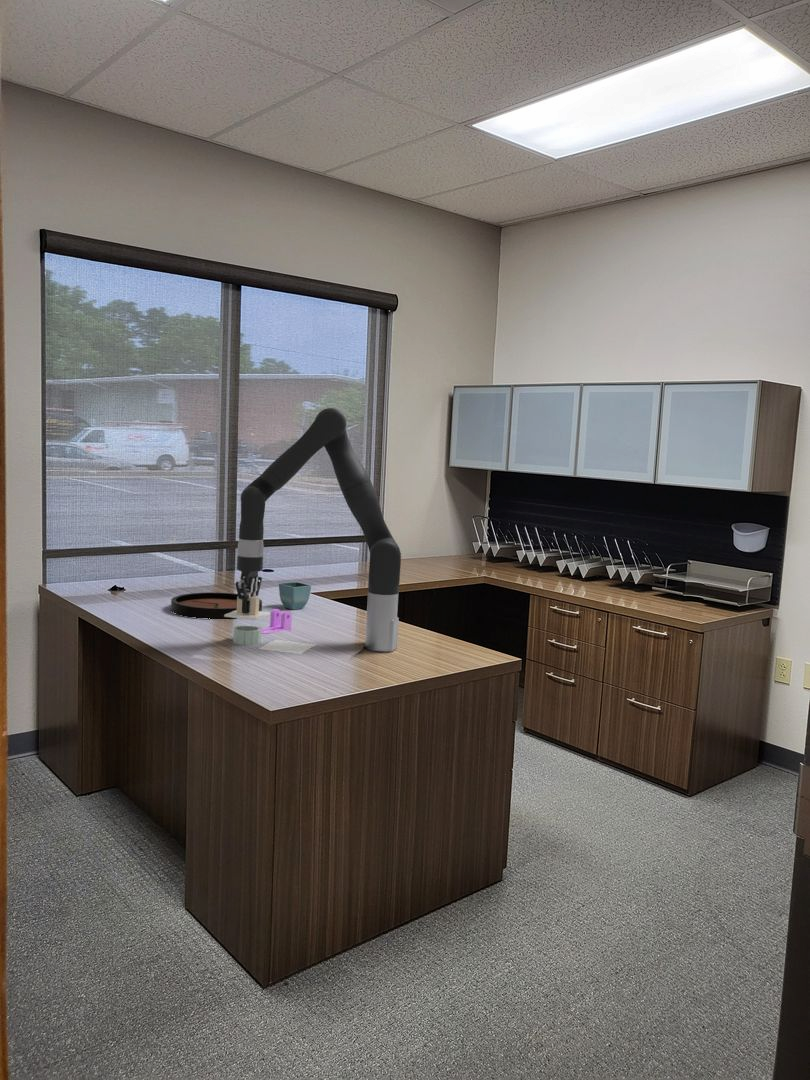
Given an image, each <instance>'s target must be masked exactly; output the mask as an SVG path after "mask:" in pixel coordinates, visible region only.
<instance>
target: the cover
mask: <svg viewBox="0 0 810 1080" xmlns="http://www.w3.org/2000/svg"><path fill="white" fill-rule="evenodd" d="M259 599H260V597H258V596H256V597H252V596H250V612H249V613H248V614H246V613H242V600H241V599H239V598H238V596H237V610H235V611H233V612H230V613H227V614H225V615H224V617H232V618H240V619H241V620H249V621H258V620H260V619H263V618H265V617H268V616H269V615H270V616H271V612H269V611H262V612H261V611H259ZM240 619H239V620H240Z"/></svg>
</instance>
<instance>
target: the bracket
mask: <svg viewBox="0 0 810 1080" xmlns="http://www.w3.org/2000/svg"><path fill="white" fill-rule="evenodd" d="M281 612H282V613H281ZM269 617H270V620H269V622H270V623H269V626H267V627H264V628H261V635H270V634H274V633H279V632H283V631H288V632H292V612H291V611H289V610H283V611H281V610H280V609H279V608H273V609H272V610H271V612H270V616H269Z"/></svg>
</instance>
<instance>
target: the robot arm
mask: <svg viewBox="0 0 810 1080" xmlns="http://www.w3.org/2000/svg"><path fill="white" fill-rule="evenodd" d="M346 428H347V420H346V417H345V415H344V413H343V412H342V411H341V410H340V409H338V408H335V407H334V408H333V407H327V408H324V409H321V411H320V412H318V413H317V415H316V416H315V419H314V421H313V422H312V423H311V425H310V427H308V429H307V430H306V431H304V433H303V435H302V436H301V437H300V438H299V439H297V440H296V441H295V442H294V443H293V444H292V445H291V446H290V447H289V448H287V449H286V450H285V451H284V452H283V453H282V454H280V455H279V456H278V457H277V458H276V459H275V460H274V461H273V462H272V463H271V464H269V466H268V467H267V468H265V470H263V472H262V473H261V474H260V475H259V476H258V477H257V478H256V479H254V480H252V482H251V483H249V484H248V485H247V486H246V487H245V488H244V489H243V490H242V492H241V493H240V523H239V528H238V529H239V530H238V531H239V532H238V535H239V536H238V544H237V551H236V553H237V554H236V555H237V556H236V560H237V561H236V569H237V570H238V571H239V572H241V574H240V578H239V579H240V580H239V581H235V589H236V592H237V593H236V594H238V598H239V599H241V600H242V613H246V614H248V613H249V612H250V596H252V597H258V596H259V594H260V593H259V592H260V590H261V589H260V588H261V585H262V582H263V578H262V577H261V576H259V572H262V571H263V567H264V546H265V545H264V530H265V528H264V527H265V526H264V519H265V511H266V509H265V508H266V502H267V500H268V499H269V498H271V496H273V495H274V494H275V492H278V491H279V490H280V489H282V488H283V487H285V485H286V484H287V483H288V482H289V481H290V480H291V479H292V478H293V477H294V476H295V475H296V474H297V473H298V472H299V471H300V470H301V469H302V468H303V467H304V466H305V465H306V463H307V462H308V461H309V460H310V459H311V458H312V457H313V456H315V454H316V453H318V452H319V451H320V450H321V449H322V448H324V449H325V451H326V452H327V454H328V457H329V459H330V462H331V463H332V468H333V471H334V474H335V477H336V480H337V482H338V486H339V488H340V490H341V493H342V495H343V498H344V500H345V503H346V504H347V506H348V509H349V510H350V512H351V514H352V516H353V517H354V519H355V521H356V522H357V523H358V525H359V527H360V528H361V531H362V533H363V536H364V539H365V540H366V544H367V547H368V551H369V563H368V564H369V567H368V580H367V581H368V583H367V584H368V586H367V602H366V603H367V606H366V621H365V623H366V625H365V638H364V639H365V640H364V645H365V646H364V648H365V649H366V650H370V651H372V652H373V651H375V652H394V651H395V650H396V649H397V648H398V636H399V623H400V622H399V619H400V617H398V609H399V608H398V606H399V591H400V582H401V581H400V580H401V579H400V578H401V577H400V576H401V566H402V565H401V564H402V563H401V562H402V554H401V553H402V552H401V549H400V546H399V545H398V543H397V542H396V540H395V538H394V537H393V535H392V533H391V532H390V530H389V528H388V525H387V524H386V521H385V519H384V516H383V511H382V508H381V505H380V502H379V499H378V496H377V493H376V491H375V488H374V485H373V483H372V480H371V478H370V477H369V475H368V473H367V471H366V469H365V467H364V465H363V464H362V462H361V460H360V459H359V458H358V456H357V454H356V453H355V451H354V449H353V446H352V444H351V441H350V439H349V435H348V432H347V429H346Z"/></svg>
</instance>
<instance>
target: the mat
mask: <svg viewBox="0 0 810 1080" xmlns="http://www.w3.org/2000/svg"><path fill="white" fill-rule="evenodd" d="M314 646H317V644H316V643H315V644H314V643H309V642H308V643H307V642H298V641H292V640H291V641H289V640H283V639H282V640H281V639H274V640H272V641H270V642H269V643H268V642H267V644H264V645H262V646H261V647H258V648H257V649H258V650H263V651H272V652H281V653H288V654H295V655H301V654H303V653H304V652H306V651H308V650H310V649H311V648H313V647H314Z"/></svg>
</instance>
